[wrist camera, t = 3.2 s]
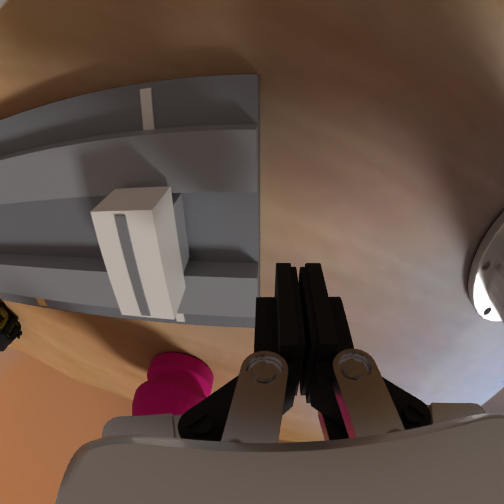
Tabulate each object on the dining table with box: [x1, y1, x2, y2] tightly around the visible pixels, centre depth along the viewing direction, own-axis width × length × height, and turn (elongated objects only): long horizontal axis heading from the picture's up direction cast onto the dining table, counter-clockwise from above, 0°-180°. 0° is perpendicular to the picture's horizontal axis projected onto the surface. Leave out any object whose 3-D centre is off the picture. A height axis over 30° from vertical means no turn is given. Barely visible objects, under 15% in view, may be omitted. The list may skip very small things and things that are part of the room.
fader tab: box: [91, 186, 190, 320], centre depth 15 cm, size 3×6×4 cm, turn 1°
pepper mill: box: [132, 352, 213, 416], centre depth 20 cm, size 7×7×20 cm
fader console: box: [0, 74, 260, 328], centre depth 18 cm, size 25×16×4 cm, turn 91°
